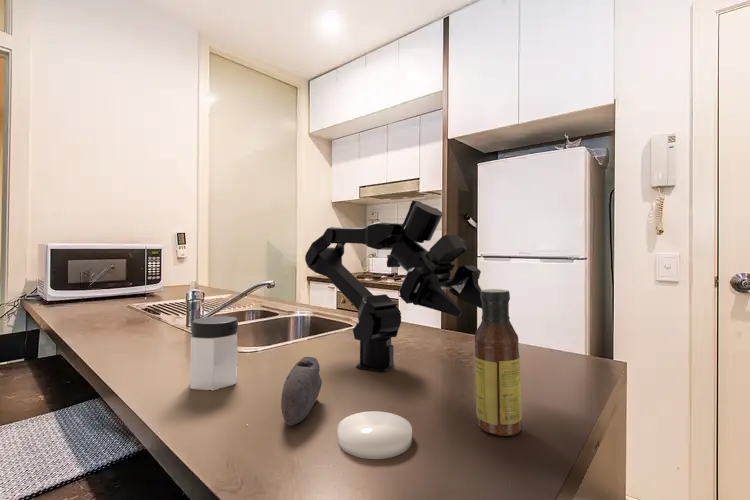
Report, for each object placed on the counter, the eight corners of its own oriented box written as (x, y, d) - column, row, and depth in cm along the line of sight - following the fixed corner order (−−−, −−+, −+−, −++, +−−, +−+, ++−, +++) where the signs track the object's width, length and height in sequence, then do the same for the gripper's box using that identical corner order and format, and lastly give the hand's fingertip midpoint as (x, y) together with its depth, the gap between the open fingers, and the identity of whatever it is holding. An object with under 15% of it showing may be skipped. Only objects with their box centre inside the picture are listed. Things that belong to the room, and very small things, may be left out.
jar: (237, 388, 68) (238, 322, 68) (187, 394, 65) (188, 325, 65) (237, 373, 76) (238, 314, 76) (193, 377, 73) (194, 316, 73)
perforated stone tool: (305, 436, 51) (305, 385, 51) (267, 435, 51) (267, 384, 51) (325, 394, 66) (325, 355, 66) (295, 393, 66) (296, 354, 66)
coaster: (323, 448, 47) (323, 436, 47) (357, 416, 57) (357, 406, 57) (397, 466, 43) (397, 454, 43) (420, 429, 53) (420, 418, 53)
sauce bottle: (520, 422, 55) (521, 289, 55) (522, 442, 49) (524, 293, 49) (475, 415, 57) (476, 287, 58) (472, 433, 52) (473, 291, 52)
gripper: (400, 222, 63) (466, 274, 53) (463, 227, 76) (526, 270, 66) (376, 275, 68) (433, 333, 58) (440, 272, 80) (495, 319, 70)
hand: (476, 311), depth 63 cm, fingers open, 9 cm apart
